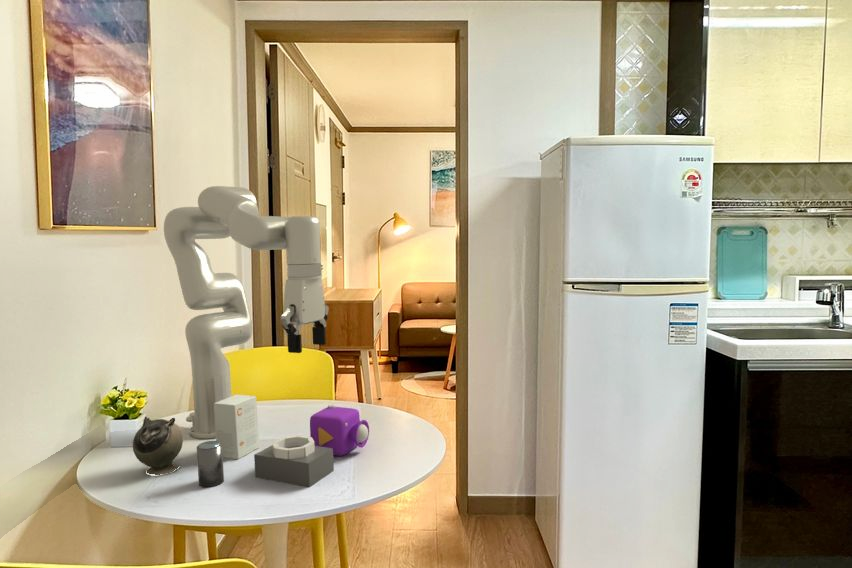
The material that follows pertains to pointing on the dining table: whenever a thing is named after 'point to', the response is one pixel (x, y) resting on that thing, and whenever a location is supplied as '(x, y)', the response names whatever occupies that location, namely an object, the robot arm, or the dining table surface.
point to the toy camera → (339, 429)
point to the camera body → (294, 461)
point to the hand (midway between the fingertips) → (307, 348)
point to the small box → (237, 425)
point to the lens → (210, 464)
